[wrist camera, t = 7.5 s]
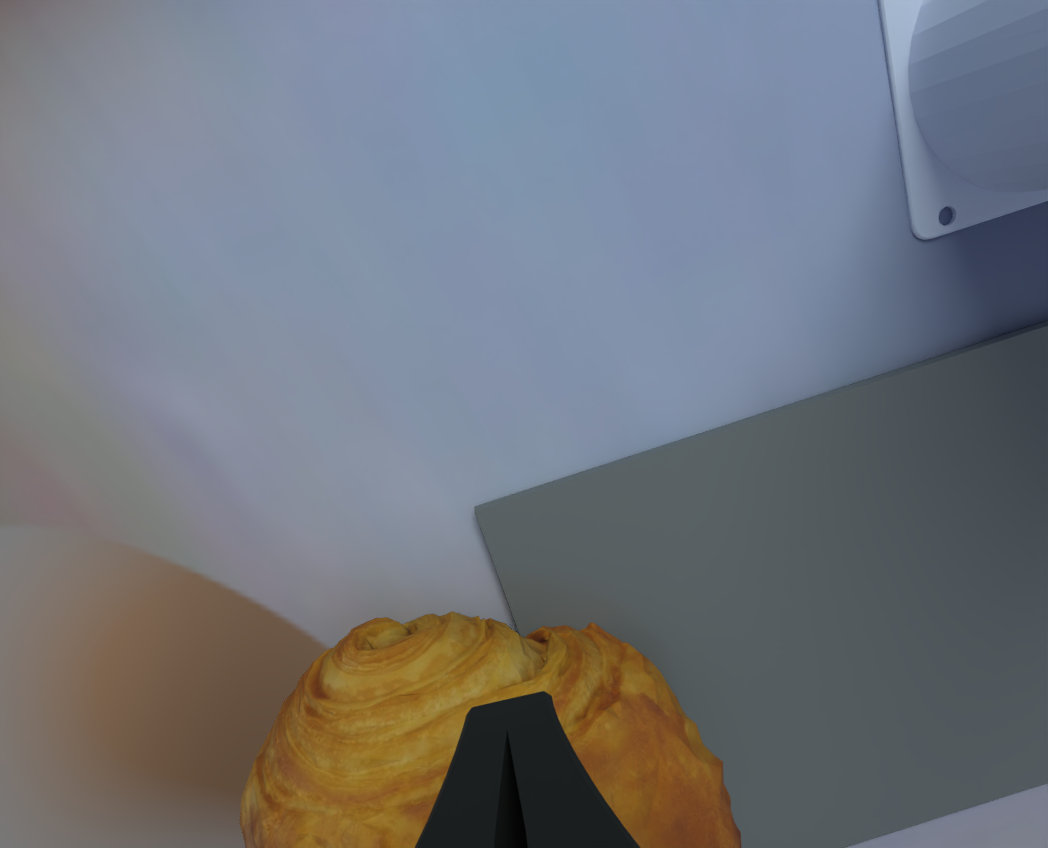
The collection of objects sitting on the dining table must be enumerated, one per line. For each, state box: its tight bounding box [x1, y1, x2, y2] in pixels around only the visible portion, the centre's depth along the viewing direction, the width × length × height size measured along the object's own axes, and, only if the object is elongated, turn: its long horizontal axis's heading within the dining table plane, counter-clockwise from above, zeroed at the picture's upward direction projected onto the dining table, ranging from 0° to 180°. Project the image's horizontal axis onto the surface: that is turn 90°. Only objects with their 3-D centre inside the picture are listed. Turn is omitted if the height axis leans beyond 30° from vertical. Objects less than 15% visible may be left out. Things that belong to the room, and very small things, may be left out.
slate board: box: [475, 321, 1048, 848], centre depth 22 cm, size 19×17×1 cm
